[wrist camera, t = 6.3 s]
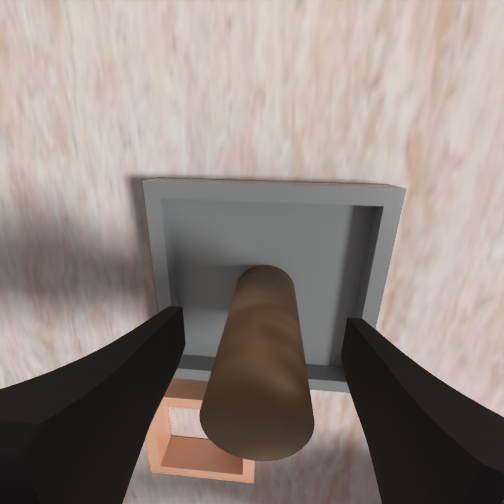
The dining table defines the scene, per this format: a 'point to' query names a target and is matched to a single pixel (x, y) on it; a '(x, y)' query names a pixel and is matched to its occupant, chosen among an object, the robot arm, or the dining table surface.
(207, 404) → the dowel
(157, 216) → the tray
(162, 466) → the collar
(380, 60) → the dining table surface
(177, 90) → the dining table surface
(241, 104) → the dining table surface
